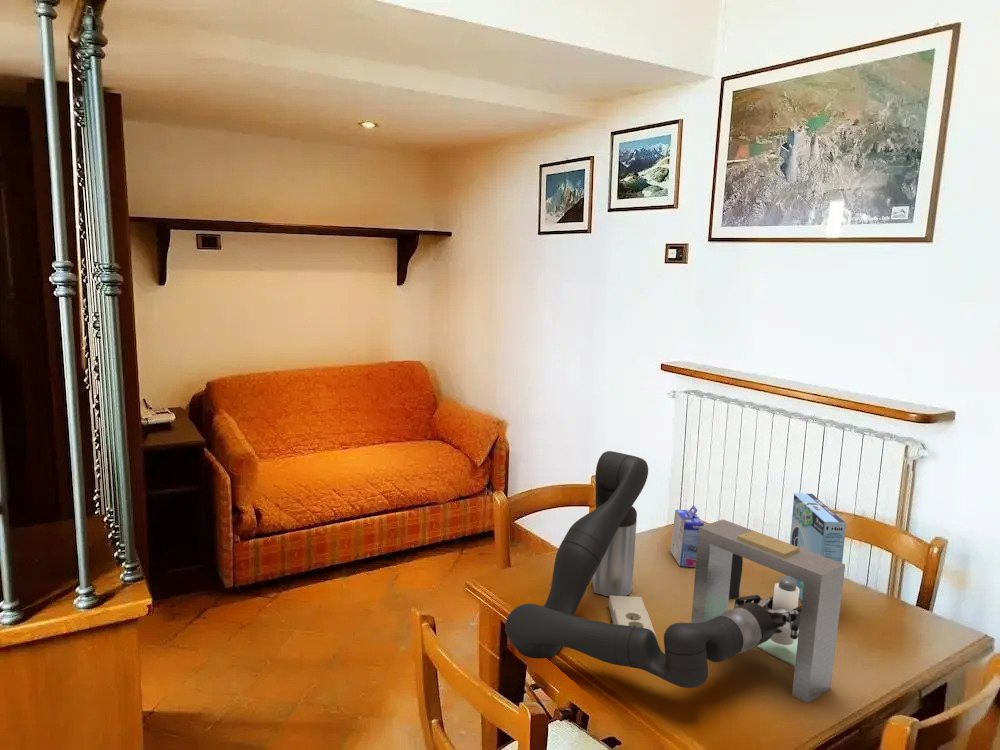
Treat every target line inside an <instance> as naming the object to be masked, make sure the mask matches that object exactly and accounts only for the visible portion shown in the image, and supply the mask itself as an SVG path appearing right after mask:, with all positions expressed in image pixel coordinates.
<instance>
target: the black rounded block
mask: <svg viewBox="0 0 1000 750" xmlns="http://www.w3.org/2000/svg"><path fill="white" fill-rule="evenodd" d="M743 558H744V557H741V556H739V555H736V554H734V553H733V556H732V567H731V579H730V590H729V599H735V598H739V597H740V587H741V581H742V572H743V560H744V559H743Z"/></svg>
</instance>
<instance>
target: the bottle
mask: <svg viewBox="0 0 1000 750" xmlns="http://www.w3.org/2000/svg"><path fill="white" fill-rule="evenodd" d="M796 583H797V582H796V580H794V579H792V578H789V577H787V576H781V577H779V579H778V582H775V584H774V590H773V596H774V597H773V606H772V609H773V610H781V609H785V610H787V611H790V610H793V609H795V608H797V607H799V600H800V598H799V591H800V589H799V588H798V587H797V586H796ZM789 620H791V616H790V617H789ZM770 639H771V640H772V641H774V642H776V643H778V644H782V645H790V644H793V642H794V639H792V638H790V634H789V633H786V632H783V631H782V632H781V633H775V634H773V635H772V637H771V638H770Z"/></svg>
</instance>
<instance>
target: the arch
mask: <svg viewBox="0 0 1000 750" xmlns="http://www.w3.org/2000/svg"><path fill="white" fill-rule="evenodd" d="M733 553H734V554H736V555H739V556H741V557H742V558H745V559H747V560H749V561H751V562H754V563H756V564H759V565H761V566H764V567H766V568H768V569H771V570H773V571H776V572H778V573H781V574H783V575H786V576H787V575H788V576H790V577H793V578H795V579H797V580H800V581H802V582H804V588H803V597H802V601H801V605H802V607H801V616H800V625H799V634H798V644H797V653H796V662H795V666H794V673H793V680H792V681H793V684H792V689H791V690H792V691H791V693H792V694H791V696H793V697H795V698H796V699H798V700H800V701H802V702H804V703H806V704H807V705H808V704H809V703H811V702H812V701H815V699H817V698H818V697H820V696H821V695H823V694H825V693H826V692H827V691H829V690H831V688H832V681H833V671H834V663H835V655H836V647H837V638H838V630H839V622H840V613H841V604H842V597H843V590H844V589H843V588H844V580H845V571H846V564H845V563H843V562H842V563H840V562H837V561H835V560H832V559H829V558H826V557H824V556H821V555H818V554H816V553H813V552H810V551H808V550H805V549H802V548H799V547H797V546H794V545H791V544H790V542H785V541H784V540H780V539H778V538H775V537H772V536H769V535H766V534H763V533H761V532H758V531H756V530H753V529H750V528H748V527H745V526H742V525H740V524H737V523H734V522H731V521H729V520H726V519H720V520H717V521H716V520H715V521H713V522H711V523H707V524H704V526H701V527H699V531H698V544H697V556H696V567H695V571H694V580H693V581H694V584H693V595H692V596H693V597H692V607H691V608H692V609H691V621H690V623H700V622H707V621H709V620H711V619H714V618H716V617H718V616H720V615H721V614H723V613H724V612H726V611H729V601H730V598H729V590H730V579H731V567H732V556H733Z"/></svg>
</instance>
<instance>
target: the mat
mask: <svg viewBox="0 0 1000 750" xmlns="http://www.w3.org/2000/svg"><path fill="white" fill-rule="evenodd" d="M797 644H798V638H797V639H794V642H793V644H790V645H782V644H778V643H776V642H774V641H772V640H771V639H769V640H768V641H766V642H764V643H762V644H760V645H758V646H756V647H755V648H758V649H760V650H762V651H763V652H765V653H767V654H769V655H771V656H773V657H775V658H777V659H779V660H780V661H783V662H785V663H787V664H789V665H790V666H793V667H795V662H796V653H797Z"/></svg>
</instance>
